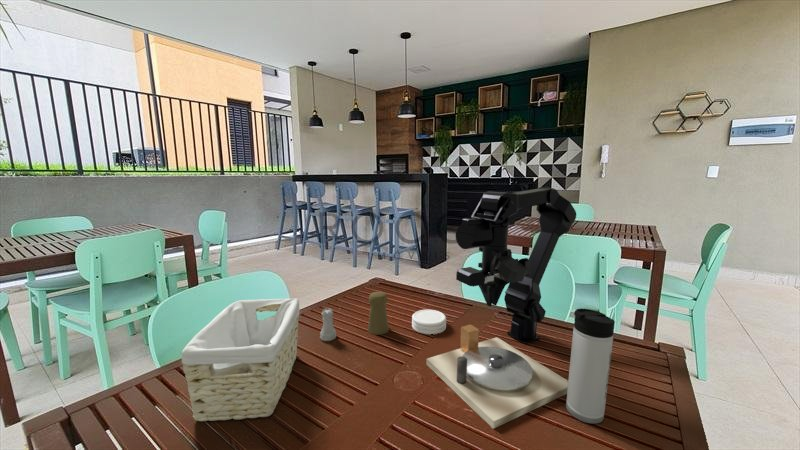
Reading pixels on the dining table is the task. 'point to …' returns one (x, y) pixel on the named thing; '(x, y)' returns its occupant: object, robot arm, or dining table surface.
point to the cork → (378, 314)
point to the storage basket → (242, 360)
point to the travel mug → (589, 365)
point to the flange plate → (498, 376)
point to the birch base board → (494, 403)
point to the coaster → (429, 322)
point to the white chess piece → (327, 326)
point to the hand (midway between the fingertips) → (491, 305)
